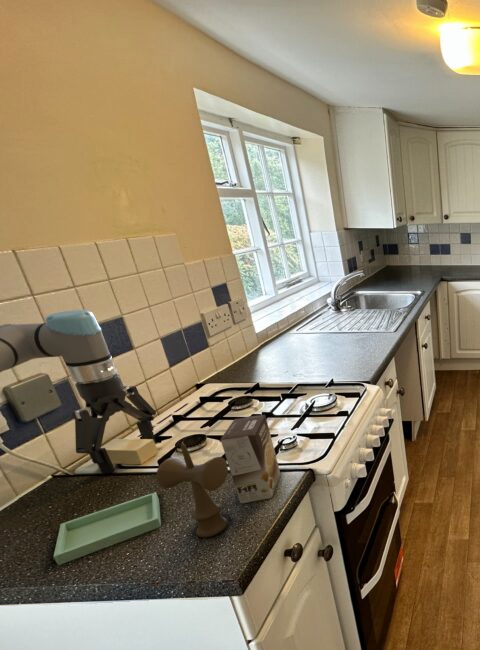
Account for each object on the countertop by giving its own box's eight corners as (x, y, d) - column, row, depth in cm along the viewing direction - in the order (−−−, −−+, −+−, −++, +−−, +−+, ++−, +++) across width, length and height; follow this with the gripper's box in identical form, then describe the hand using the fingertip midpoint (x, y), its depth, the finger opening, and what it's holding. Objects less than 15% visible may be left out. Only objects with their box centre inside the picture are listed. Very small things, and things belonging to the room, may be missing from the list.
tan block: (102, 463, 101) (95, 449, 99) (120, 451, 105) (114, 438, 104) (141, 464, 101) (136, 450, 99) (158, 452, 105) (153, 439, 104)
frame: (58, 565, 73) (53, 556, 72) (65, 532, 80) (60, 523, 79) (161, 526, 81) (157, 518, 81) (158, 499, 89) (155, 491, 88)
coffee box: (273, 498, 89) (255, 435, 83) (239, 504, 87) (219, 440, 81) (281, 473, 97) (265, 414, 91) (251, 478, 95) (232, 418, 89)
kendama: (227, 542, 78) (196, 453, 70) (177, 541, 78) (141, 452, 70) (246, 519, 83) (220, 435, 76) (200, 518, 84) (169, 434, 76)
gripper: (58, 401, 83) (100, 488, 92) (155, 359, 105) (181, 432, 114) (23, 401, 84) (67, 487, 92) (126, 359, 106) (155, 432, 114)
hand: (130, 457), depth 103 cm, fingers open, 11 cm apart
